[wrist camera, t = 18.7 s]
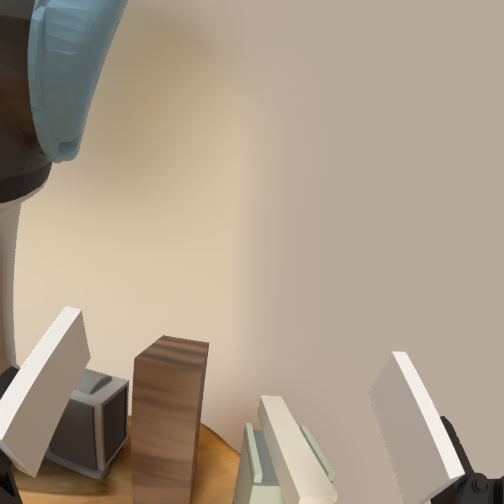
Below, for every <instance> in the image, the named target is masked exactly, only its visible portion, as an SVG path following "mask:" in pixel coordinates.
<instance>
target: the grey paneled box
mask: <svg viewBox="0 0 504 504" xmlns="http://www.w3.org/2000/svg"><path fill="white" fill-rule="evenodd" d="M128 392H129V380H125V379H121V378H117V377H113V376H110V375H106V374H103V373H99V372H96V371H92V370H89V369H86V368H85V369H84V371H83V373H82V375H81V377H80V379H79V381H78V383H77V385H76V387H75V389H74V391H73V393H72V395H71V397H70V399H69V401H68V403H67V405H66V408H65V410H64V412H63V414H62V416H61V418H60V420H59V423H58V425H57V427H56V429H55V432H54V434H53V436H52V438H51V441H50V443H49V445H48V448H47V450H46V452H45V457H46V458H47V459H48V460H50V461H52V462H55V463H57V464H59V465H61V466H64V467H66V468H68V469H71V470H73V471H76V472H78V473H81V474H83V475H86V476H88V477H91V478H94V479H103V478H104V477H105V475H106V474H107V472H108V471H109V463H110V462H111V461H112V459H113V458H114V457H115V455H116V454H117V453H118V451H119V450H120V449H125V447H126V446H127V445H128V443H129V437H128Z"/></svg>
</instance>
